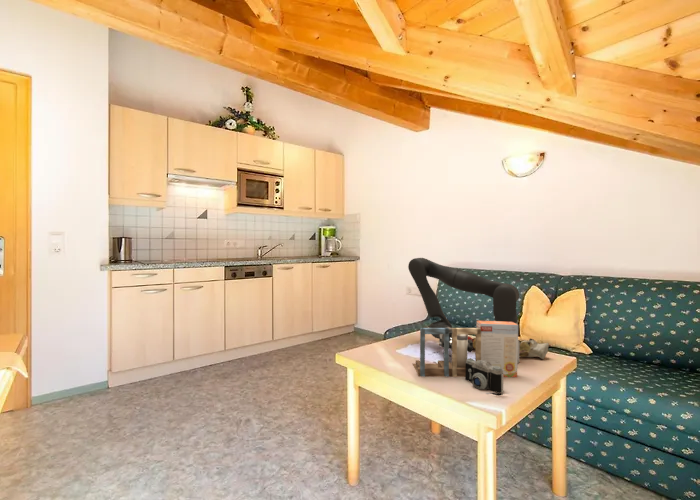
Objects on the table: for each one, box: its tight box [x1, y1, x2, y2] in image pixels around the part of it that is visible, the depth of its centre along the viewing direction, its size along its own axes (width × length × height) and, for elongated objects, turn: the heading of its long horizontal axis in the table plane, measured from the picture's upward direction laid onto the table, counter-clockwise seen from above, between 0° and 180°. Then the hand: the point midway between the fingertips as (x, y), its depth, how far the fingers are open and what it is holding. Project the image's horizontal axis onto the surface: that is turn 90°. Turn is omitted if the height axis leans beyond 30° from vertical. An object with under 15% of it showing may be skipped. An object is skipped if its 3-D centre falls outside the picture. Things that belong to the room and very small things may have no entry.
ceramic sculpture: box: [519, 338, 550, 360], centre depth 154 cm, size 11×9×15 cm
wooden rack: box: [412, 327, 481, 378], centre depth 135 cm, size 24×14×19 cm, turn 90°
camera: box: [464, 357, 504, 397], centre depth 120 cm, size 15×7×10 cm, turn 32°
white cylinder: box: [457, 334, 469, 368], centre depth 135 cm, size 5×5×14 cm
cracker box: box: [476, 320, 519, 378], centre depth 131 cm, size 14×6×21 cm, turn 85°
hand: (462, 349), depth 133 cm, fingers closed on white cylinder, 5 cm apart
